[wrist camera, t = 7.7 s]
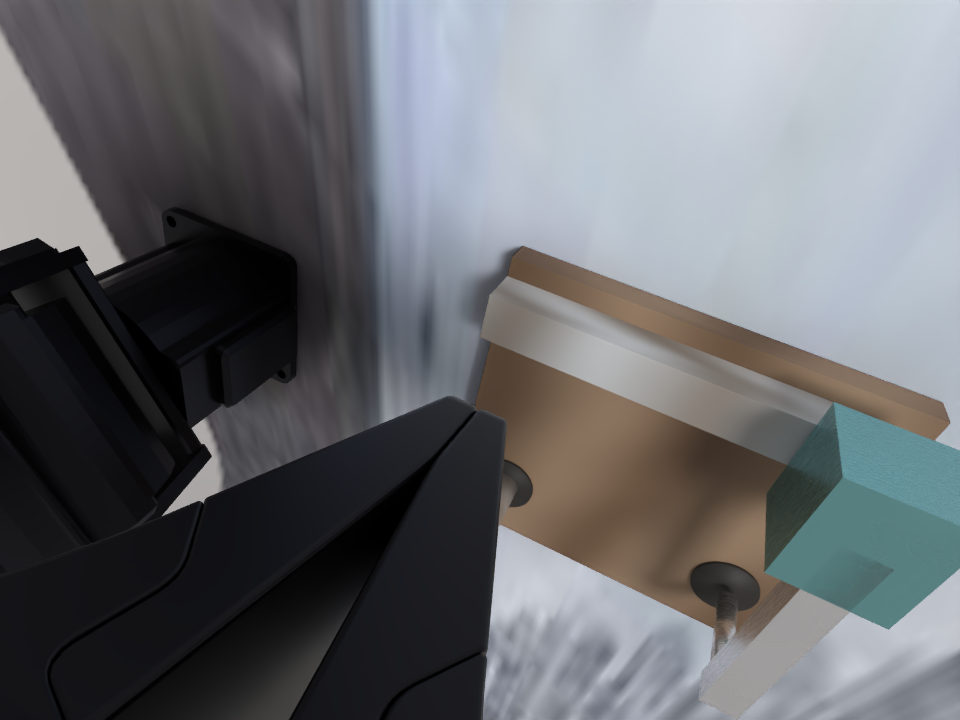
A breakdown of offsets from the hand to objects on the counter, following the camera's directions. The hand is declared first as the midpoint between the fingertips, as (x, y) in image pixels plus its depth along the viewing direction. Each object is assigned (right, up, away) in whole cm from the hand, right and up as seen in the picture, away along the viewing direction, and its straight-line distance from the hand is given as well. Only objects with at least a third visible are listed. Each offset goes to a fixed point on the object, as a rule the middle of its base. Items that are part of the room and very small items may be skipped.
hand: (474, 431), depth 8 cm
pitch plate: (+6, -2, +14) cm, 15 cm away
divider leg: (+10, -4, +11) cm, 15 cm away
